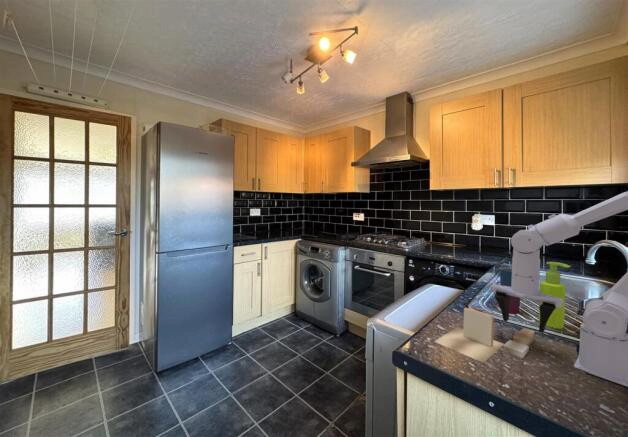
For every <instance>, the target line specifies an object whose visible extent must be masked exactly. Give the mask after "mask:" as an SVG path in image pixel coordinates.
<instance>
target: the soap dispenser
mask: <svg viewBox="0 0 628 437" xmlns="http://www.w3.org/2000/svg"><path fill="white" fill-rule="evenodd" d="M546 265H549V270H548V271H546V272H545V280H544V281H539V292H540V293H543V294H547V295H550V296H554V297H558V298H563V306H562V307H561V308H559V307H556V308H555V310H554V311H553V313H552V314H551V316H550V317H549V319H548V321H547V324H546V327H547V326H549V327H548V328H551V327H553V328H552V329H556V328H557V329H558V330H561V329H564V328H565V314H566V313H565V309H566V291H567V290H566V288H567V287H566V286H567V285H565V284H563V283H561V273H560V272H558V267H562V268H565V269H566V268H571V267H572V266H571V265H568V264H566V263H562V262H556V261H546ZM538 303H539V305H538V306H539V308H538V309H539V311H538V322H539V324H540V305H541V304H543V303H541V302H538Z"/></svg>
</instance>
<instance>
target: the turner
mask: <svg viewBox="0 0 628 437" xmlns="http://www.w3.org/2000/svg"><path fill="white" fill-rule="evenodd" d="M535 333H536V332H535V330H533V329H530V328H526V327H523V328H522V329H520V331H519V332H517V333H516V334H515V335H514V336H513V340H511V339H508V341H506V343H503V344H504V345H503V346H502V352H504V353H506V354H509V355H511V356H514V357H517V358H519V359H524V358H525V357H526V356H527V354H528V353H529V352H530V350H529V349H530V345H531V344H532V343H533V342H534V341H535V335H536V334H535Z"/></svg>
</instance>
